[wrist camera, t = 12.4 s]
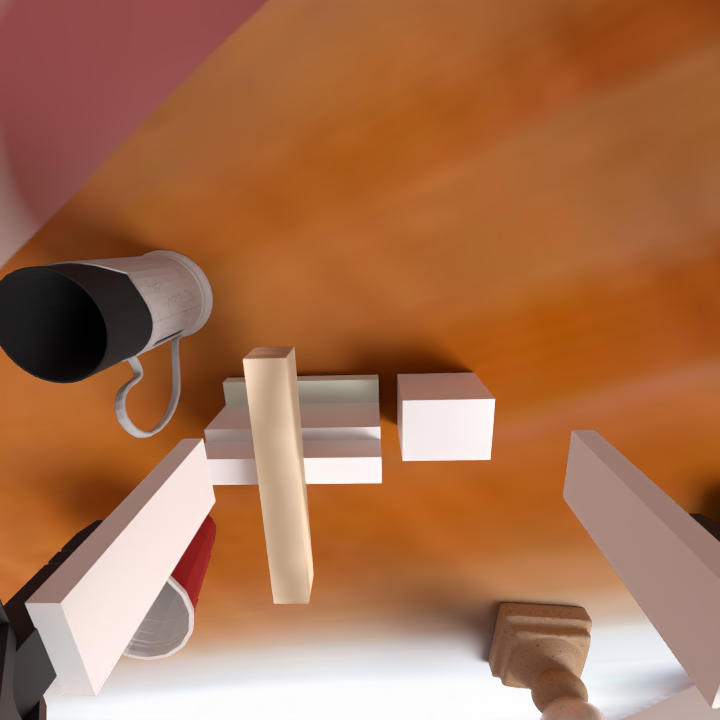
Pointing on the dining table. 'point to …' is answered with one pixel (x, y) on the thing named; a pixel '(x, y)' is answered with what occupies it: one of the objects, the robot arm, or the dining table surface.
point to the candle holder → (545, 657)
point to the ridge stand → (305, 432)
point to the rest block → (444, 417)
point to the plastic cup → (175, 602)
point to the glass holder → (103, 318)
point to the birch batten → (280, 470)
